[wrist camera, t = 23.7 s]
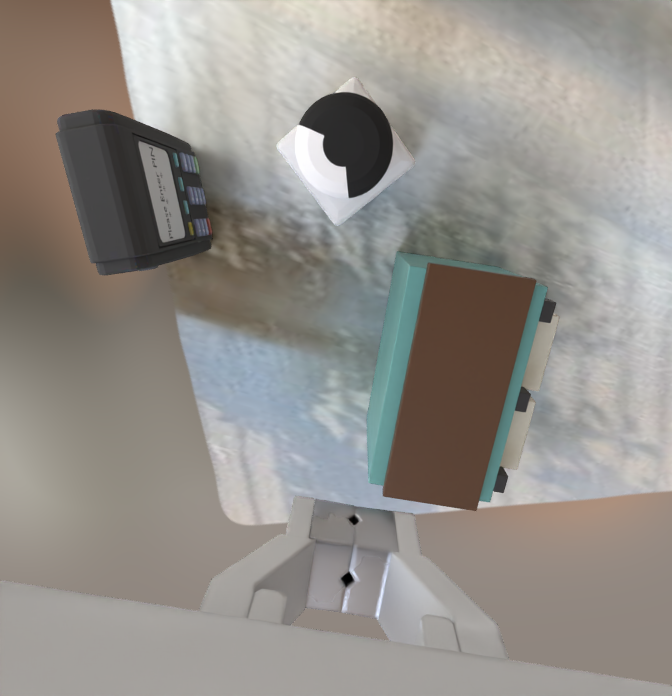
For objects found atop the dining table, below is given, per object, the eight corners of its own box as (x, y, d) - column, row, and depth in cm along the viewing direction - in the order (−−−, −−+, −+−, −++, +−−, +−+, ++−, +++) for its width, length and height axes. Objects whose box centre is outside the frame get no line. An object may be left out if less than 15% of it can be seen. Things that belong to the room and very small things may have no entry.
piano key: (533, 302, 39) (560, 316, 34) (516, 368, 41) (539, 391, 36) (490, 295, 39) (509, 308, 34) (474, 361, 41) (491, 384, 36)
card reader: (221, 251, 44) (152, 272, 29) (177, 258, 44) (88, 282, 29) (198, 141, 41) (112, 104, 27) (152, 149, 41) (42, 116, 27)
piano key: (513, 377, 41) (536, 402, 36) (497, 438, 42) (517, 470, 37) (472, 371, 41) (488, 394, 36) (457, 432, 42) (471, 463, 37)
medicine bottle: (356, 96, 40) (354, 50, 28) (408, 170, 41) (427, 155, 29) (287, 155, 41) (259, 134, 30) (340, 224, 42) (333, 230, 31)
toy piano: (509, 263, 43) (567, 284, 31) (467, 439, 47) (502, 515, 35) (397, 246, 43) (412, 260, 31) (365, 423, 47) (367, 494, 35)
